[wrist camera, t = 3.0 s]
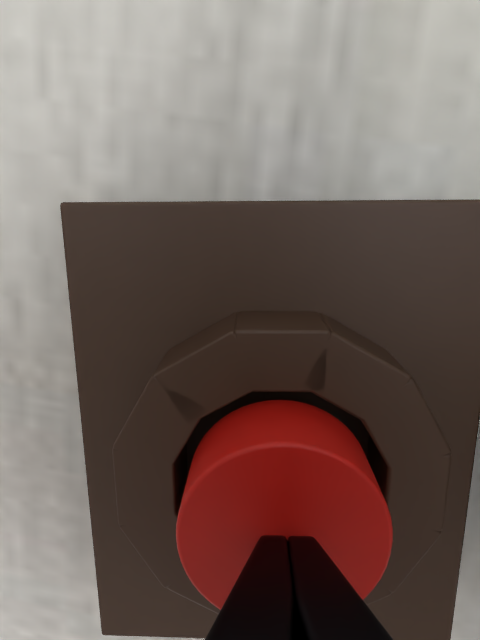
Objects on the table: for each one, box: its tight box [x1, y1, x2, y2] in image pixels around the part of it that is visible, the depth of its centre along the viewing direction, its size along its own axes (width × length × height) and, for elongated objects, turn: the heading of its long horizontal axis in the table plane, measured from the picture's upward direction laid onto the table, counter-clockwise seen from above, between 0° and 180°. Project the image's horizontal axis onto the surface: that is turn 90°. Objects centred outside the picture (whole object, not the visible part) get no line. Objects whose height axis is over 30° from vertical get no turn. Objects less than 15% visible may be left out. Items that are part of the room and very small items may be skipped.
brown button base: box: [60, 200, 480, 640], centre depth 10 cm, size 11×9×4 cm
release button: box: [176, 400, 393, 610], centre depth 8 cm, size 4×4×2 cm
